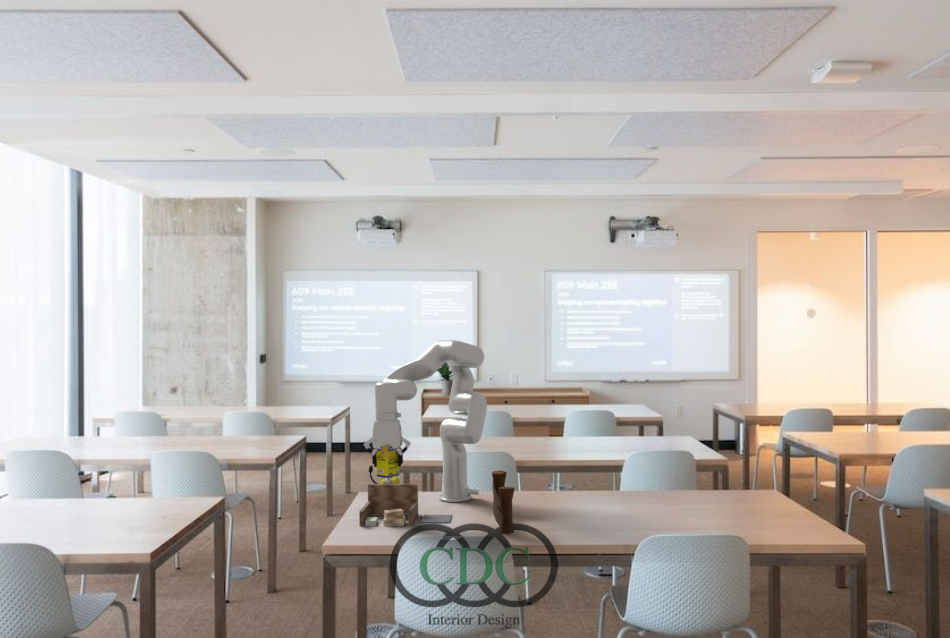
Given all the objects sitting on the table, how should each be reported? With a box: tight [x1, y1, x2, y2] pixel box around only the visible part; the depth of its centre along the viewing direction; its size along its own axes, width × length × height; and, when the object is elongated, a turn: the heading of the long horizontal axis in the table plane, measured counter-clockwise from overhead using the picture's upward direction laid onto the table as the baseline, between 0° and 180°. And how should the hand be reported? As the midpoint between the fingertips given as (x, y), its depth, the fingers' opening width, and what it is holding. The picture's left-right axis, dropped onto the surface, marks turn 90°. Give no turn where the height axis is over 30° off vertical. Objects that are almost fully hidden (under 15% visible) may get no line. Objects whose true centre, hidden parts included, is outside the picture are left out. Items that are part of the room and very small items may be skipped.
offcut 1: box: [364, 516, 379, 527], centre depth 259 cm, size 4×5×2 cm
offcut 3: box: [383, 515, 406, 527], centre depth 259 cm, size 7×4×2 cm, turn 90°
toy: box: [368, 465, 401, 484], centre depth 290 cm, size 6×14×15 cm
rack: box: [358, 483, 419, 527], centre depth 264 cm, size 18×16×11 cm
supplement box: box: [375, 446, 400, 479], centre depth 266 cm, size 6×6×11 cm
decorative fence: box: [491, 470, 516, 535], centre depth 259 cm, size 34×6×15 cm, turn 3°
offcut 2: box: [383, 509, 405, 520], centre depth 259 cm, size 6×4×2 cm, turn 112°
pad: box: [420, 514, 453, 524], centre depth 264 cm, size 10×10×1 cm
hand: (387, 465), depth 266 cm, fingers closed on supplement box, 8 cm apart
